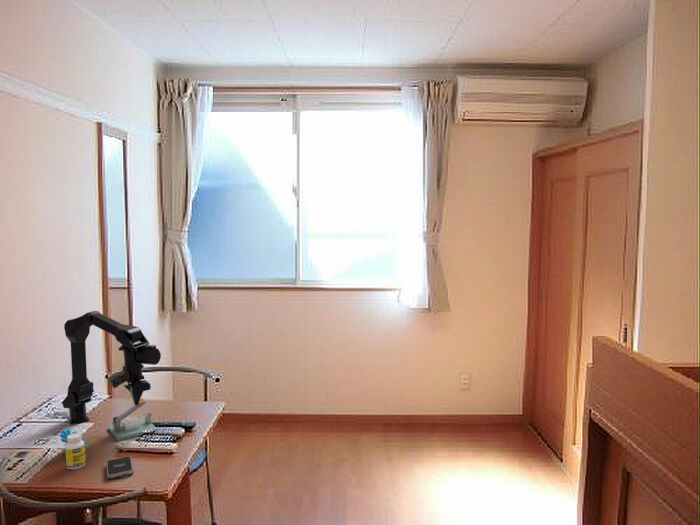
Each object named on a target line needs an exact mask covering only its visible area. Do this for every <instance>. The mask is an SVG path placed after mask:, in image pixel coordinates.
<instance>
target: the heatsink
mask: <svg viewBox="0 0 700 525" xmlns="http://www.w3.org/2000/svg"><path fill="white" fill-rule="evenodd" d="M121 427H122V428H123V429H124V430H125V431H130V430H134V429H138V428H140V420H139V419H138V417H137V416H136V415H131V416H127V417H126V418H124V419H123V420H121Z"/></svg>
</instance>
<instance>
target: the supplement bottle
mask: <svg viewBox="0 0 700 525" xmlns="http://www.w3.org/2000/svg"><path fill="white" fill-rule="evenodd" d="M81 434H82V433H81ZM81 434H80V432H79V433H78V432H77V433H75V434H72V433H71V435H69V436H67V442H68V443H67V444H66V443H65V444H66V445H65V444H64V446H65V447H64V449H65V451H66V453H65V460H66V468H67V469H68V470H77V469H81V468H83V467H84V466H85V465H86V464H87V460H86V458H87V457H86V451H85V444H84V441H83V440H84V439H83V438H82V437H83V436H82V437H81ZM81 439H82V440H81Z"/></svg>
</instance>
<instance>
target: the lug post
mask: <svg viewBox="0 0 700 525" xmlns="http://www.w3.org/2000/svg"><path fill="white" fill-rule="evenodd" d="M144 417H145V422H146V423H147V424H151V423H152V418H151V417H152V413H151V412H147V413H144Z"/></svg>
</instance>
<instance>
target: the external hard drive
mask: <svg viewBox="0 0 700 525" xmlns="http://www.w3.org/2000/svg"><path fill="white" fill-rule="evenodd" d="M131 457H132V456H130V455H129V456H127V455H126V456H123V457H117V458H113V459H108V460H107V461H106V469H107V470H106V471H107V472H106V473H107V474H106V475H107V480H108V481H113V480H116V479H121V478H126V477H129V476H133V474H134V471H133V469H134V468H133V464H132V458H131Z"/></svg>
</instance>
